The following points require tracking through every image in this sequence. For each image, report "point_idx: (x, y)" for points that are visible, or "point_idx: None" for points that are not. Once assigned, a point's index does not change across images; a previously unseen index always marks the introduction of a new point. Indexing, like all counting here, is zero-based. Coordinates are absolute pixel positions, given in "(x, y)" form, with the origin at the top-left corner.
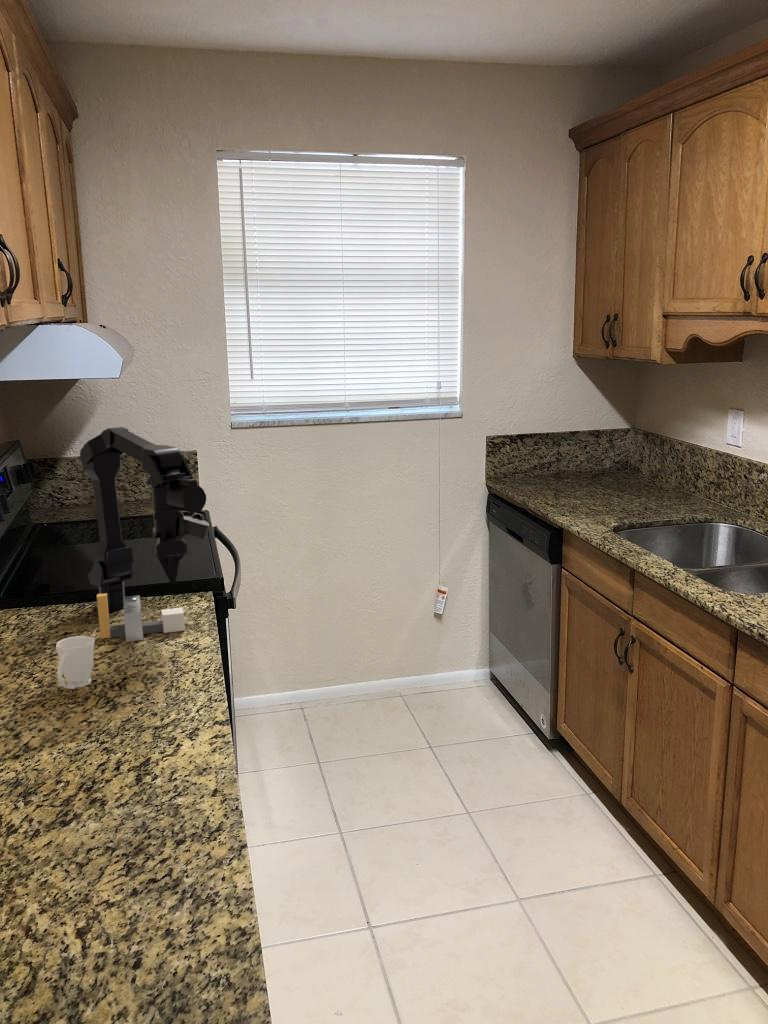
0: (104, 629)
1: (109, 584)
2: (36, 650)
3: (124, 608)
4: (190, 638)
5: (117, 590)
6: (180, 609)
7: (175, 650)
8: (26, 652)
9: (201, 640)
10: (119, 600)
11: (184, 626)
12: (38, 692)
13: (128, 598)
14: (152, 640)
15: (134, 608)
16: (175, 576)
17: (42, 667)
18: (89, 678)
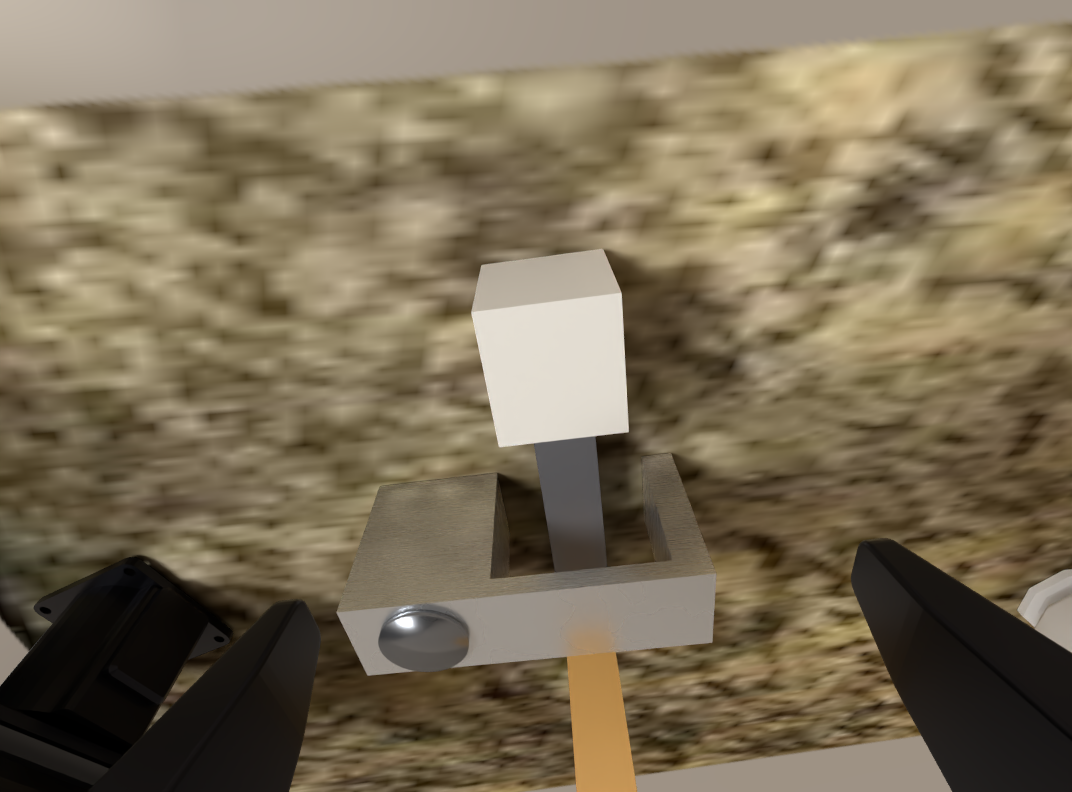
0: None
1: (115, 750)
2: (652, 730)
3: (607, 649)
4: (751, 202)
5: (128, 687)
6: (519, 324)
7: (923, 282)
8: (661, 745)
9: (826, 118)
10: (165, 630)
11: (605, 259)
12: None
13: (422, 657)
14: (697, 411)
15: (626, 609)
16: (993, 619)
17: (829, 696)
18: (1068, 579)
